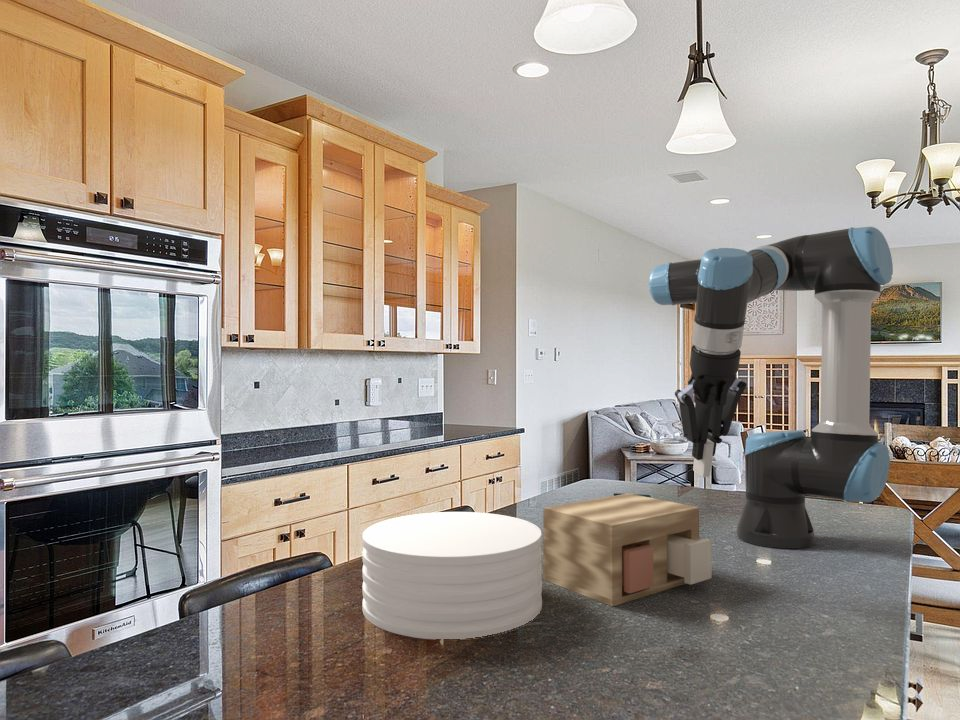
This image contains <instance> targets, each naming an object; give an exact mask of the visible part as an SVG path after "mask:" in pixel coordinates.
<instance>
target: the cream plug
mask: <svg viewBox="0 0 960 720" xmlns="http://www.w3.org/2000/svg"><path fill="white" fill-rule="evenodd" d="M667 573H671V574H674V575H677V576H680V577H684V583H686V584H687V585H694V584H697V583H700V582H703V581H706V580H707V581H708V580H710V579H712V578H713V577H712V576H713V575H712V573H713V571H712V539H709V538H707V537H703V538H699V540H692V539H688V538H684V537H680V536H676V535H671V534H670V535H667Z"/></svg>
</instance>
